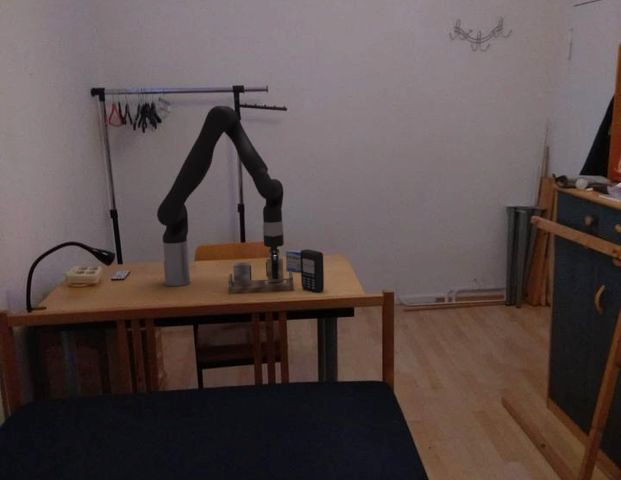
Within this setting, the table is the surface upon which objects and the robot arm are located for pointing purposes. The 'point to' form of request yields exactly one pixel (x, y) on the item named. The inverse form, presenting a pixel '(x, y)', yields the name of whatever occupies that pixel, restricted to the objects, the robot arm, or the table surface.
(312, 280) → the card reader
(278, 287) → the rail
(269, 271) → the finger block
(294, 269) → the medicine box
